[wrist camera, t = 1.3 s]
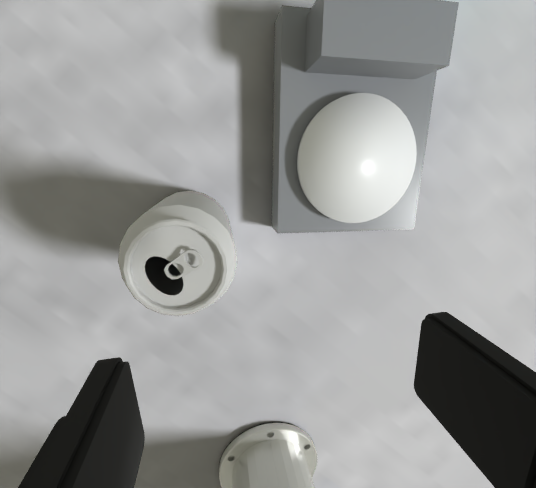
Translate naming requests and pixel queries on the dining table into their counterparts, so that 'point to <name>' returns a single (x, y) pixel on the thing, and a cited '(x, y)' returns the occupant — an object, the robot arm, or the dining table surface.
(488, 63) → the dining table surface
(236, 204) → the dining table surface
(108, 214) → the dining table surface
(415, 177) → the scale
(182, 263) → the can
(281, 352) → the dining table surface
